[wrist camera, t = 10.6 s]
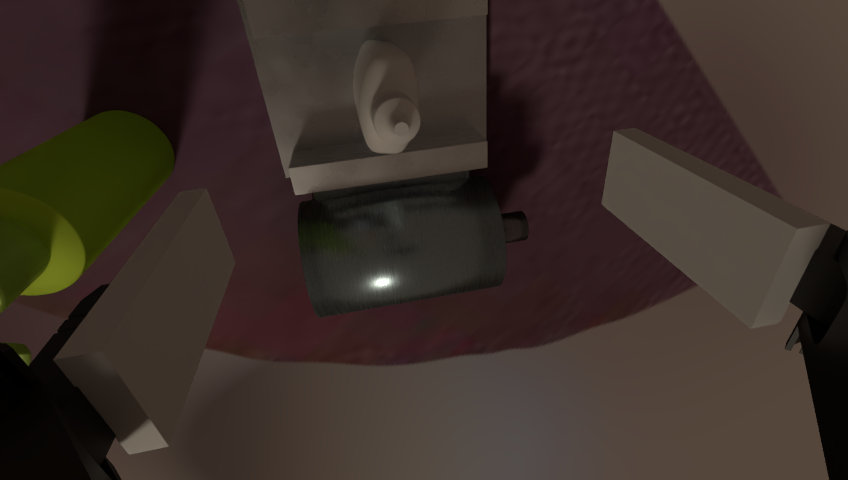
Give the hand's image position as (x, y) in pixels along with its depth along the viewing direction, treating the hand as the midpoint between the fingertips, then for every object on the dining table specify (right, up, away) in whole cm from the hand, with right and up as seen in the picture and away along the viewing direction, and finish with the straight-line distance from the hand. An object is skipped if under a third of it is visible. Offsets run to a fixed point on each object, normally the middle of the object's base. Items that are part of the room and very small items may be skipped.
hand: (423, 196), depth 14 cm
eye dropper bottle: (-3, +10, +16) cm, 19 cm away
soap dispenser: (-21, +5, +17) cm, 27 cm away
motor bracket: (-2, +6, +20) cm, 21 cm away
